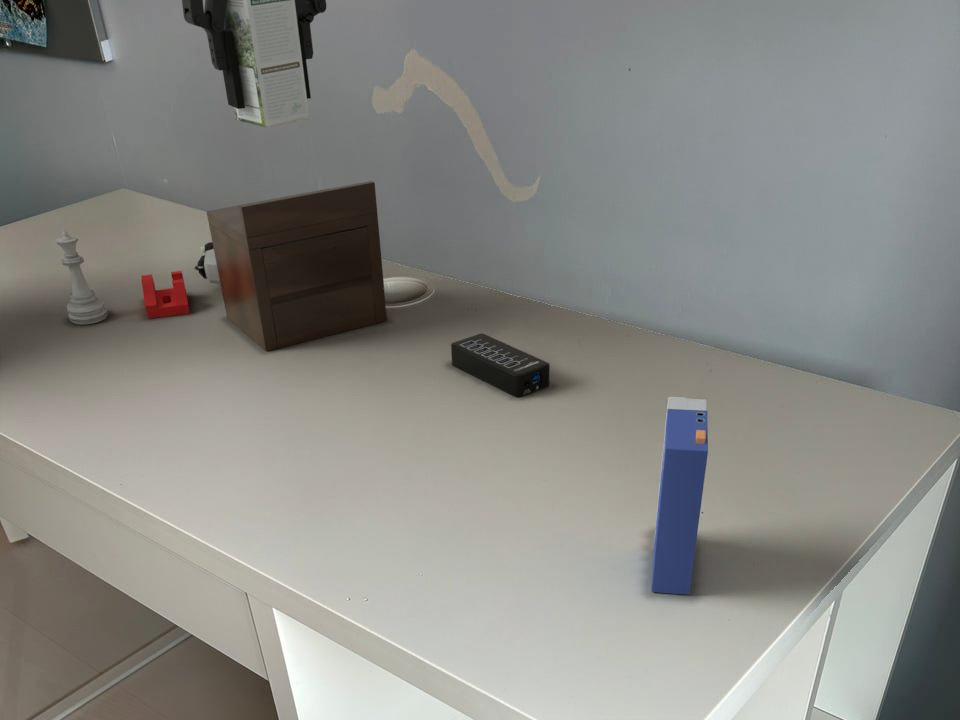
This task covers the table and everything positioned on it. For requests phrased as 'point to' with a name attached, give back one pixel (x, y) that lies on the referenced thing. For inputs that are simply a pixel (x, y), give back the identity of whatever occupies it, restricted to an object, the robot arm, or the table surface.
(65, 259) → the chess piece
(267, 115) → the syrup box
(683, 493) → the walkman
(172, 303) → the bracket
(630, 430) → the table surface
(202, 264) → the robot toy
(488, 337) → the multiport hub
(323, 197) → the wooden drawer cabinet
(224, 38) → the robot arm
